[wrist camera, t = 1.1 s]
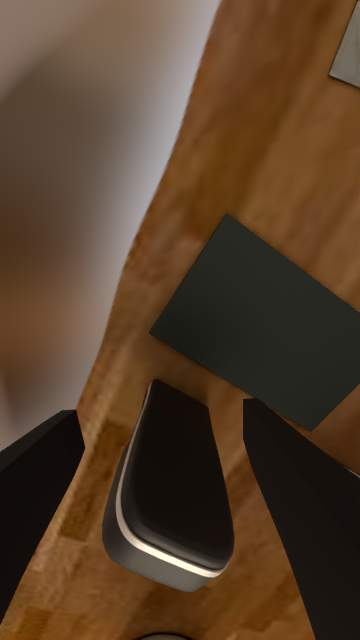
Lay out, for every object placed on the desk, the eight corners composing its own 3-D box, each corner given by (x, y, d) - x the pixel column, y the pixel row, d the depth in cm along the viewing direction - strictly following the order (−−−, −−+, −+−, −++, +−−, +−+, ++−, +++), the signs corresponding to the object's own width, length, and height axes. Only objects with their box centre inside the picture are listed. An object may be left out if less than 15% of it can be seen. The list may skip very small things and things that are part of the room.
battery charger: (135, 402, 20) (76, 569, 9) (153, 374, 19) (113, 519, 8) (191, 431, 20) (203, 618, 9) (211, 406, 20) (249, 577, 9)
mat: (394, 341, 18) (400, 343, 17) (307, 428, 20) (311, 432, 20) (225, 214, 15) (226, 212, 15) (149, 331, 18) (149, 333, 17)
